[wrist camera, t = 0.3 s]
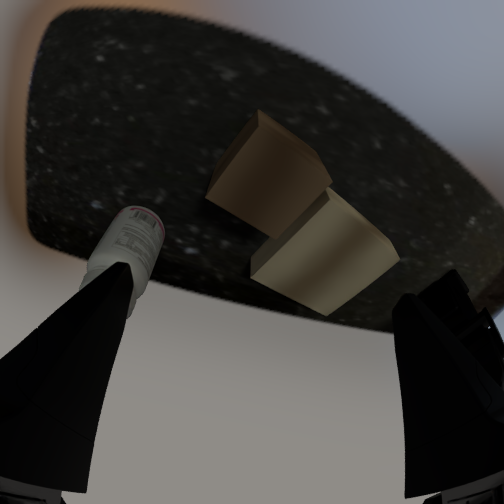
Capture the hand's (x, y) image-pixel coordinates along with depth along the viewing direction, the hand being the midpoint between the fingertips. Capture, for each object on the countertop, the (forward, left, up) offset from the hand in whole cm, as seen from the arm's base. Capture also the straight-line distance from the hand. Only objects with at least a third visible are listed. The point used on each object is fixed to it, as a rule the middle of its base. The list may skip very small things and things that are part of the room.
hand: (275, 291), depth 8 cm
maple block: (-9, +4, -13) cm, 17 cm away
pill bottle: (+5, +11, -13) cm, 18 cm away
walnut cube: (0, 0, -13) cm, 13 cm away
